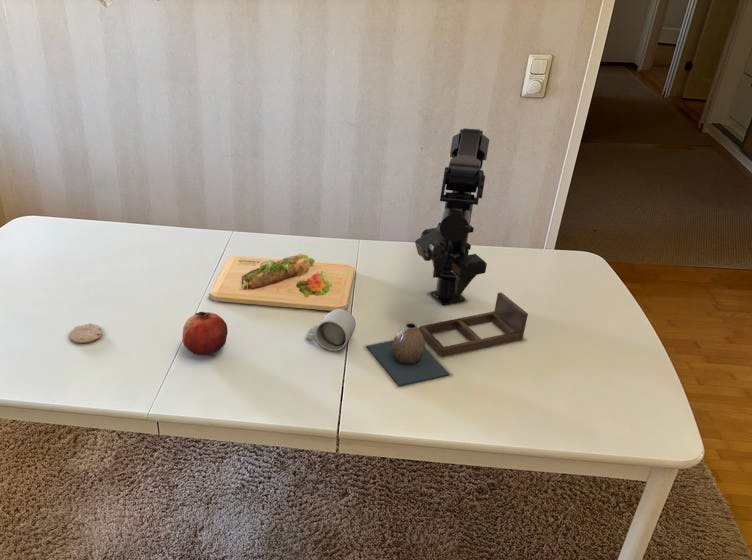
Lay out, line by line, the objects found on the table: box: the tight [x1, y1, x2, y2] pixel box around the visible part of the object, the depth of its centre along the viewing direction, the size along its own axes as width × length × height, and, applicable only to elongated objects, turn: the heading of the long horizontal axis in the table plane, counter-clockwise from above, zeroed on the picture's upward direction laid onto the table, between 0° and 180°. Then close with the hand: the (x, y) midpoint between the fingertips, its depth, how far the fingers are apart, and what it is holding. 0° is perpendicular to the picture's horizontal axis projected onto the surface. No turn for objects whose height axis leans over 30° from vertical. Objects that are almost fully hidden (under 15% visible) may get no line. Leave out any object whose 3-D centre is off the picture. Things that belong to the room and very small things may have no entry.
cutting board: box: [208, 253, 355, 312], centre depth 188 cm, size 35×23×8 cm
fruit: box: [181, 311, 229, 356], centre depth 163 cm, size 11×10×10 cm
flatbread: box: [68, 323, 103, 343], centre depth 171 cm, size 8×8×1 cm
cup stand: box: [418, 291, 529, 358], centre depth 167 cm, size 11×21×7 cm, turn 109°
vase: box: [392, 322, 426, 364], centre depth 159 cm, size 7×7×9 cm
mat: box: [366, 340, 450, 387], centre depth 161 cm, size 16×12×1 cm
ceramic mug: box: [306, 309, 357, 352], centre depth 166 cm, size 11×8×8 cm
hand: (447, 285), depth 164 cm, fingers open, 9 cm apart
